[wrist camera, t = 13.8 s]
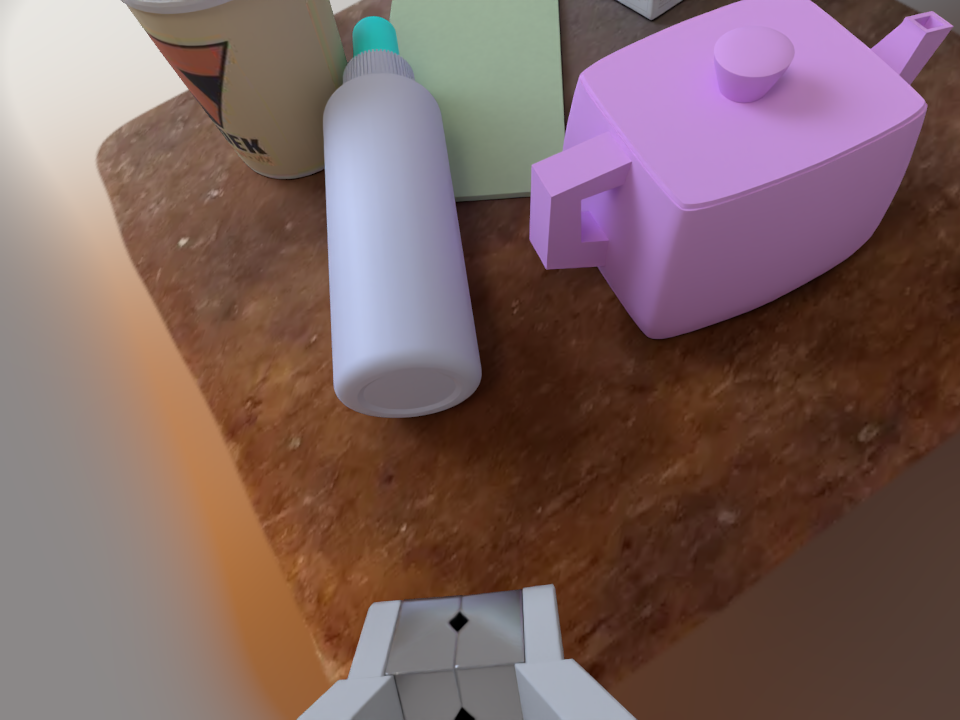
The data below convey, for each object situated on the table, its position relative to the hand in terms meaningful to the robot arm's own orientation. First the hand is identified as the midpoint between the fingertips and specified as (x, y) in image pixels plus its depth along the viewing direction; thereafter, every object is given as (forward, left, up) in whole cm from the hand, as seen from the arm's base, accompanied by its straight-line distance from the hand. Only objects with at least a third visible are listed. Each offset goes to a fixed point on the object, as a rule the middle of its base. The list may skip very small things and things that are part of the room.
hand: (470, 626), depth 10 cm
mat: (-3, +31, -15) cm, 35 cm away
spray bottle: (-4, +9, -12) cm, 16 cm away
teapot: (+9, +19, -15) cm, 26 cm away
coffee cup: (-14, +28, -15) cm, 35 cm away
